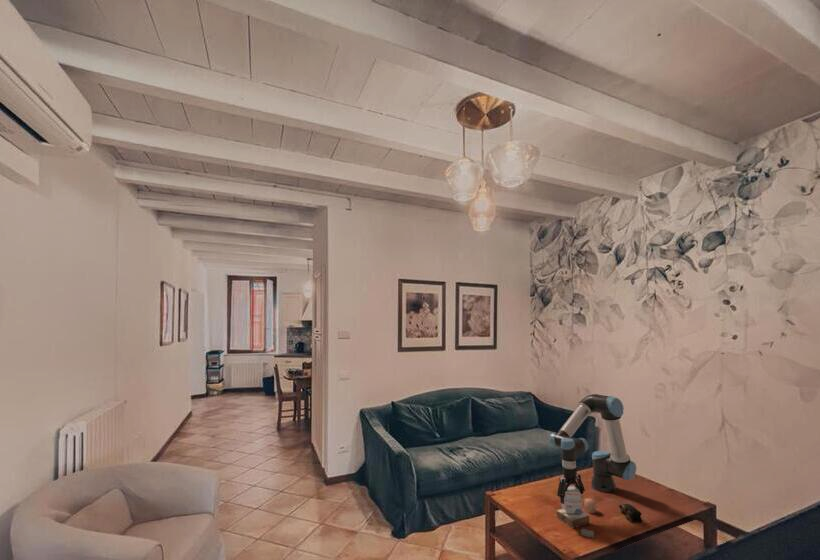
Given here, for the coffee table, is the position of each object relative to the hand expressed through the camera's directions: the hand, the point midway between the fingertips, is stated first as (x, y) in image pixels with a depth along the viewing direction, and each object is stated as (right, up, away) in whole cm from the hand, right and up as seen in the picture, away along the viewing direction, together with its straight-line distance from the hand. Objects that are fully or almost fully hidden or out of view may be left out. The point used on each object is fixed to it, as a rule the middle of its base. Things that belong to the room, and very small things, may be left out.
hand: (572, 506), depth 220 cm
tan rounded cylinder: (+15, -8, +10) cm, 20 cm away
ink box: (0, -2, 0) cm, 2 cm away
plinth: (0, -7, -1) cm, 8 cm away
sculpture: (+34, -7, +1) cm, 35 cm away
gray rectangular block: (+2, -6, -15) cm, 17 cm away
